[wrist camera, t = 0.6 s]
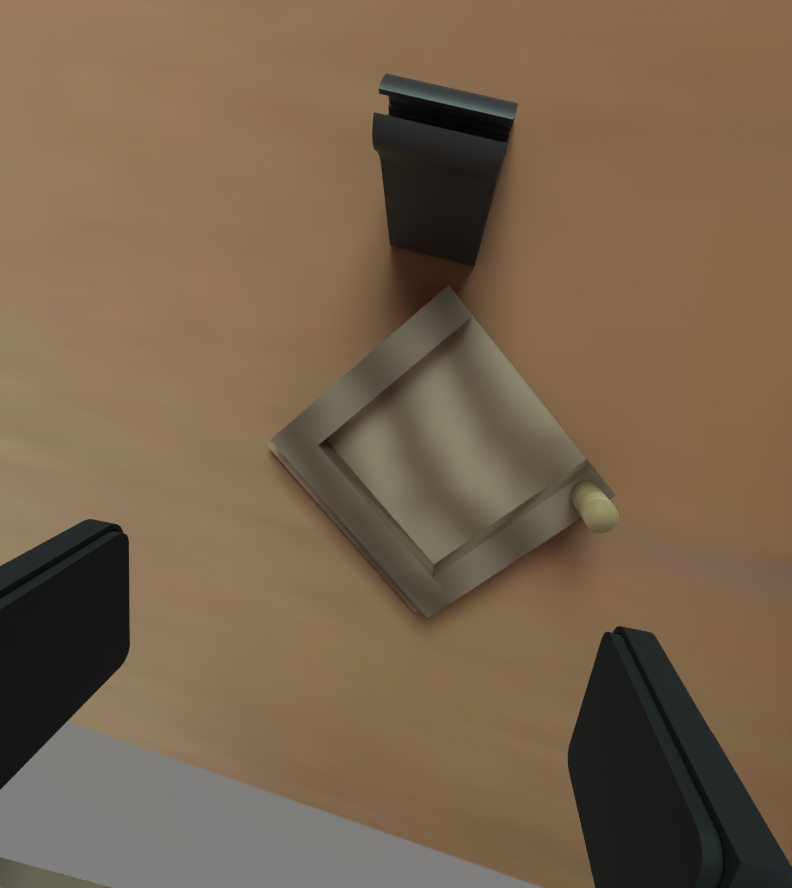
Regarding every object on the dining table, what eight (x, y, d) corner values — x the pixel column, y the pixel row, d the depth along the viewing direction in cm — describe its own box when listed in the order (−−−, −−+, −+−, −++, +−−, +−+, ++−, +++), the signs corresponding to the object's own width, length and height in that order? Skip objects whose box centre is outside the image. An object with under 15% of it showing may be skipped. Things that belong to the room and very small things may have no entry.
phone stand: (474, 267, 34) (479, 242, 22) (390, 245, 34) (352, 209, 23) (515, 121, 31) (545, 7, 20) (424, 99, 32) (401, -25, 20)
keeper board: (449, 287, 34) (446, 280, 27) (603, 480, 36) (635, 518, 29) (271, 442, 39) (231, 468, 32) (416, 606, 41) (407, 663, 34)
